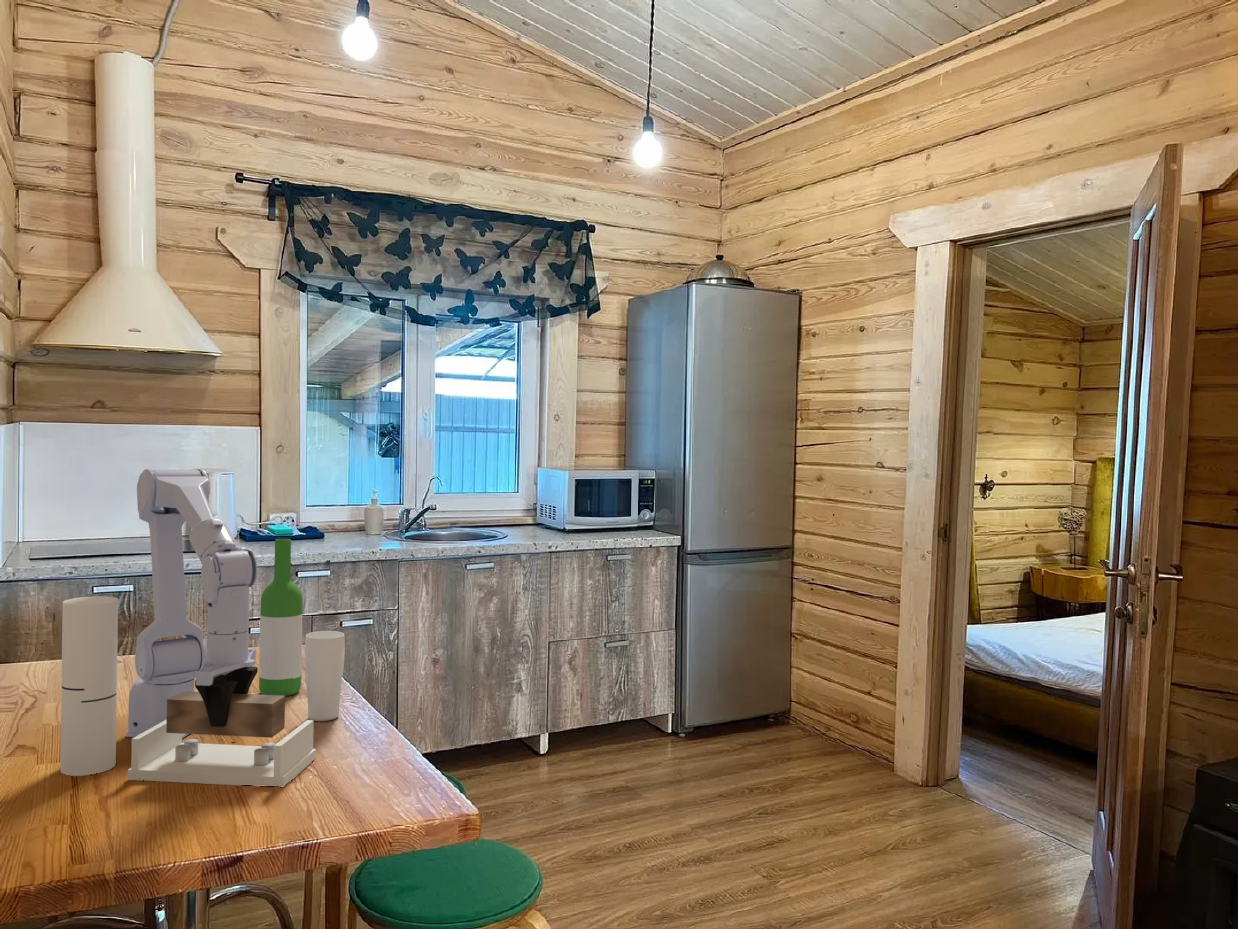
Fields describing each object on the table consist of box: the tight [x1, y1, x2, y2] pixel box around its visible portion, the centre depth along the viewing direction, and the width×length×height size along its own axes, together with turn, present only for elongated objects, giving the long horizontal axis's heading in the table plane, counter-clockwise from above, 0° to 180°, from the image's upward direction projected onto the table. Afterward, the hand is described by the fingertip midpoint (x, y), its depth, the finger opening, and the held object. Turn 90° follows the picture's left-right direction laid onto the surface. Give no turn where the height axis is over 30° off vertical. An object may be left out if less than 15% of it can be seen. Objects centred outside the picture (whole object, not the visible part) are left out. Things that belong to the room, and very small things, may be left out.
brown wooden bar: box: [166, 691, 286, 739], centre depth 137 cm, size 16×4×5 cm, turn 87°
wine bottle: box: [258, 538, 304, 697], centre depth 177 cm, size 8×8×30 cm
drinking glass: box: [304, 630, 346, 722], centre depth 162 cm, size 7×7×15 cm
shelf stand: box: [127, 719, 317, 786], centre depth 137 cm, size 23×12×6 cm, turn 87°
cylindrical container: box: [60, 595, 119, 777], centre depth 135 cm, size 7×7×25 cm
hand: (226, 721), depth 137 cm, fingers closed on brown wooden bar, 4 cm apart
